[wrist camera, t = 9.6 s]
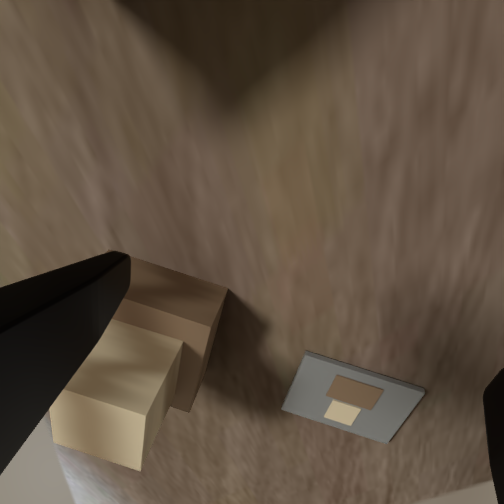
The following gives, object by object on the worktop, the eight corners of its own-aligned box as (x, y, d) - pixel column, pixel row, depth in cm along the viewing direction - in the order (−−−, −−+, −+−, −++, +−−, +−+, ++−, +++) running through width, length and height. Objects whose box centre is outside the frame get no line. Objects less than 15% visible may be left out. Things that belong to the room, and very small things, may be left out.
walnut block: (229, 285, 24) (210, 327, 21) (207, 367, 29) (189, 412, 25) (111, 247, 25) (75, 281, 21) (107, 333, 29) (76, 373, 26)
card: (423, 388, 25) (425, 394, 25) (386, 439, 28) (386, 445, 28) (305, 350, 25) (305, 356, 25) (282, 404, 29) (280, 410, 28)
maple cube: (183, 341, 22) (145, 415, 18) (174, 395, 25) (140, 471, 20) (101, 315, 22) (46, 383, 18) (102, 371, 25) (53, 442, 21)
